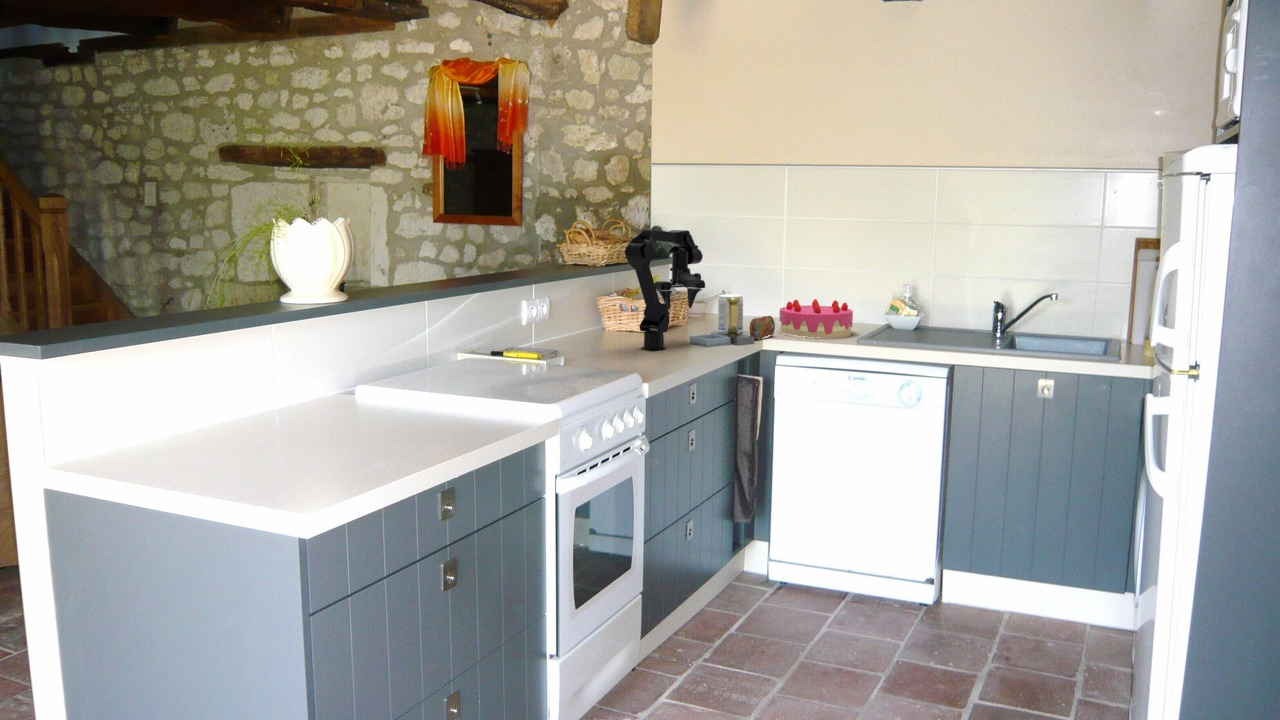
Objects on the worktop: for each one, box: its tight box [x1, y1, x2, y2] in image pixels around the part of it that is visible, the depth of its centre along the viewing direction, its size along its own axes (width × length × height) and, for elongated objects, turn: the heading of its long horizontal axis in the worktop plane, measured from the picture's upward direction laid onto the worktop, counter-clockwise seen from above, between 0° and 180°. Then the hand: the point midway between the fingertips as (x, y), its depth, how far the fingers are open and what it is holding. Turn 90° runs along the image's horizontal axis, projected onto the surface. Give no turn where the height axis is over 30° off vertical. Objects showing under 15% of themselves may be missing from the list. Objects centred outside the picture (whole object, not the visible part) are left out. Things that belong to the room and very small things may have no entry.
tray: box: [689, 333, 731, 348], centre depth 364 cm, size 11×11×2 cm
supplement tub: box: [717, 293, 744, 334], centre depth 391 cm, size 10×10×15 cm
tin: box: [749, 315, 776, 341], centre depth 377 cm, size 15×3×8 cm, turn 143°
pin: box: [727, 298, 740, 336], centre depth 368 cm, size 5×5×16 cm
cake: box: [779, 298, 854, 339], centre depth 390 cm, size 28×28×12 cm
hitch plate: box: [710, 331, 756, 346], centre depth 369 cm, size 8×16×2 cm, turn 32°
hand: (679, 308), depth 361 cm, fingers open, 9 cm apart
